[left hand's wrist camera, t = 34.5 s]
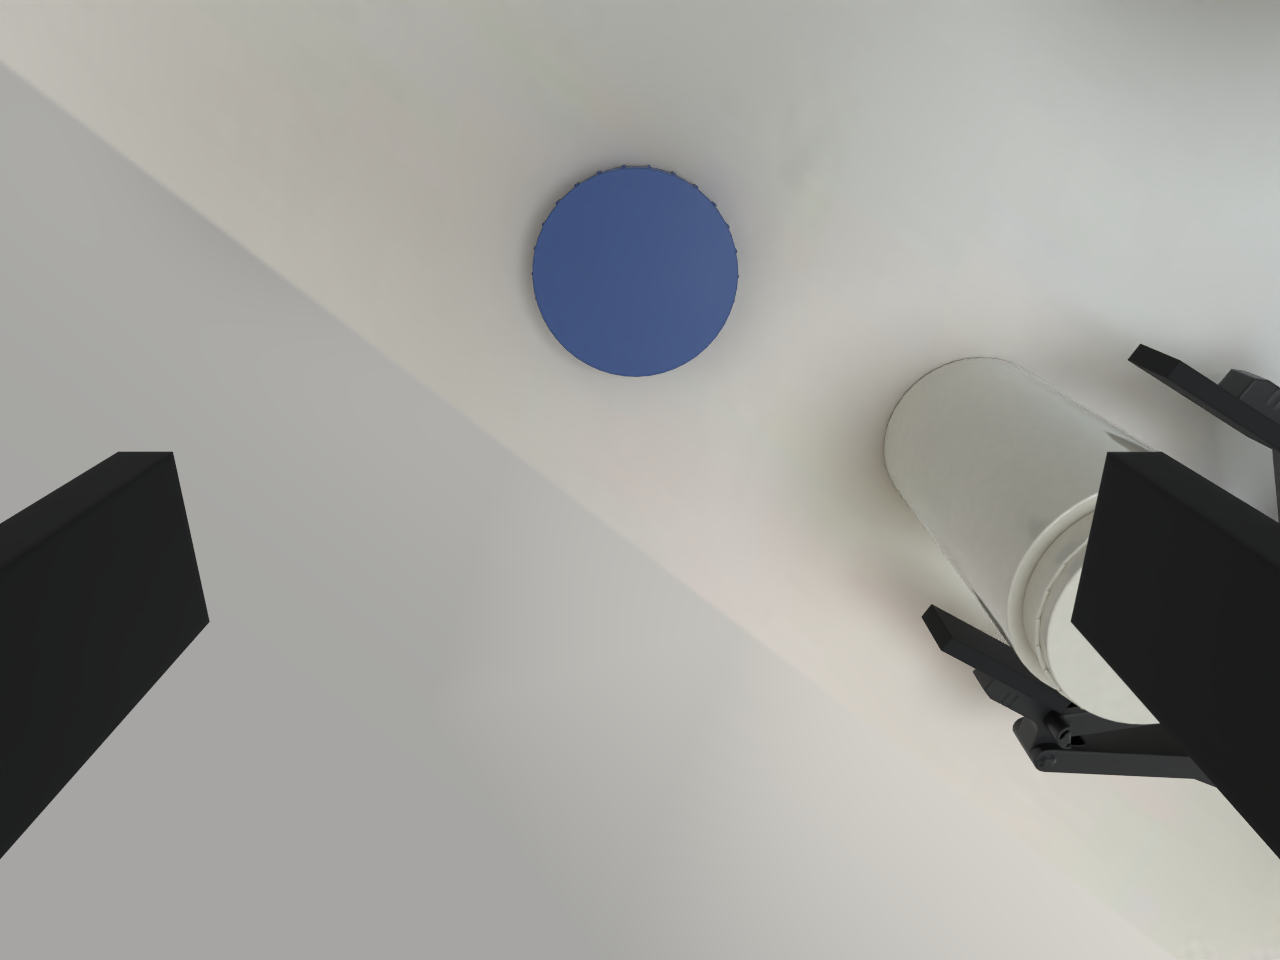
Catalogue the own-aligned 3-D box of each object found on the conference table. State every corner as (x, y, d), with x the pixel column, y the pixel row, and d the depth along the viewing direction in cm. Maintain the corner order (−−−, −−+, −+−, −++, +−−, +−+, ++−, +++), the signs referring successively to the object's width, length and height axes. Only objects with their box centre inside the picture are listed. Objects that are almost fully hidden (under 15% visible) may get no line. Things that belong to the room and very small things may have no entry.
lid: (767, 210, 37) (773, 215, 35) (688, 393, 40) (690, 406, 38) (576, 130, 36) (573, 130, 34) (510, 325, 39) (503, 335, 37)
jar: (999, 538, 43) (1202, 768, 27) (854, 484, 42) (981, 691, 26) (1087, 393, 40) (1369, 558, 25) (934, 331, 39) (1128, 462, 23)
